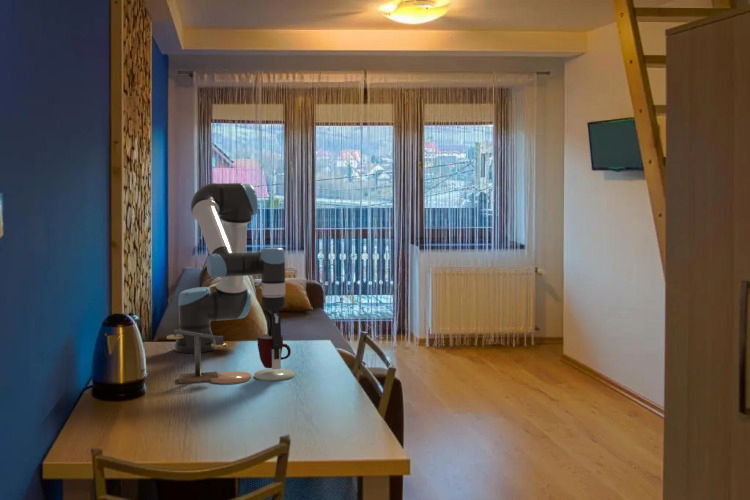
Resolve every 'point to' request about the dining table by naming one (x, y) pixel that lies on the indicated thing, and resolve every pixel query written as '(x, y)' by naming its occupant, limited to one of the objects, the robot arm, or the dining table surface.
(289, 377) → the dish sage
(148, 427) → the dining table surface
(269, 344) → the mug
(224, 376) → the dish terracotta
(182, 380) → the balance
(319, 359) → the dining table surface
